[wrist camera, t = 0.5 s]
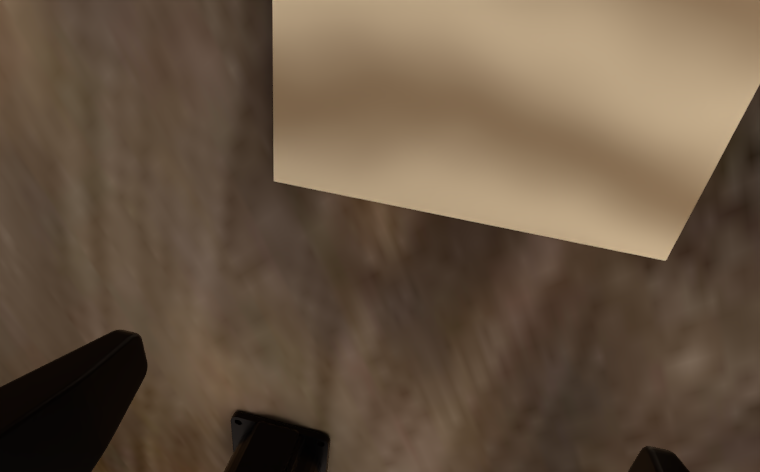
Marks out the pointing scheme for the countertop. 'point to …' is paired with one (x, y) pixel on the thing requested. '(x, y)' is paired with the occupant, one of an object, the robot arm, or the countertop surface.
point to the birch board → (516, 108)
